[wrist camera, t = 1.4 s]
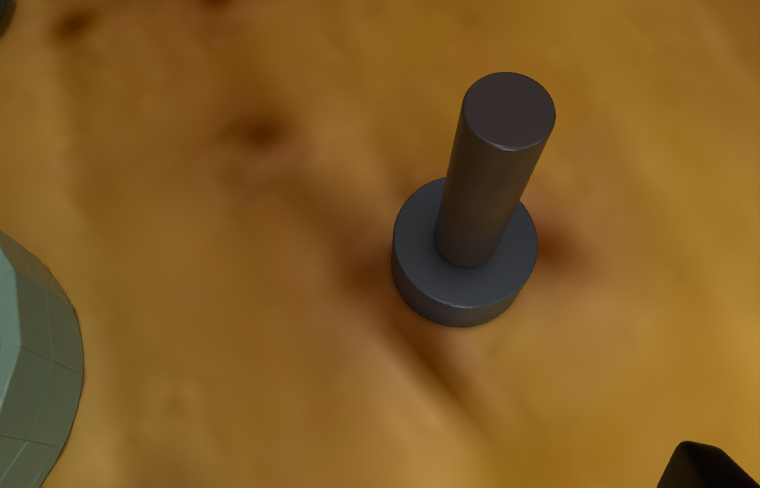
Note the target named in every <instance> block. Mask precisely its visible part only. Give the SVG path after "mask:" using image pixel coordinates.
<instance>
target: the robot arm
mask: <svg viewBox="0 0 760 488" xmlns="http://www.w3.org/2000/svg"><path fill="white" fill-rule="evenodd" d="M657 488H760V485H758V484H757V483H756V482H755V481H754V480H753V479H752V478H751V477H750V476H749V475H748V474H747V473H746V472H745V471H744V470H743V469H742V468H741V467H740V466H739V465H738V464H736V463H735V462H734V461H733V460H732V459H731V458H730V457H729V456H728V455H727V454H726V453H725V452H724V451H723V450H721V449H720V448H718V447H715V446H712V445H707V444H702V443H697V442H692V441H683V442H681V443H680V444H679V445H678V446H677V447H676V449H675V451H674V453H673V455H672V457H671V459H670V461H669V463H668V465H667V467H666V469H665V471H664V473H663V475H662V477H661V479H660V481H659V483H658V485H657Z"/></svg>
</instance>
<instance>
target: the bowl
mask: <svg viewBox="0 0 760 488" xmlns="http://www.w3.org/2000/svg"><path fill="white" fill-rule="evenodd" d="M82 374H83V352H82V341H81V336H80V331H79V326H78V322H77V319H76V316H75V314H74V311H73V308H72V306H71V303H70V302H69V300H68V298H67V296H66V294H65V293H64V291H63V289H62V287H61V286H60V285H59V284H58V282H57V281H56V280H55V278H54V277H53V276H52V275H51V273H50V272H49V271H47V270H46V269H45V268H44V266H43V265H42V263H41V262H40V260H39V259H38V258H37V257H36V256H34V255H33V254H32V253H30V252H29V251H28V250H26V249H25V248H24V247H22V246H21V245H20V244H18V243H17V242H16V241H14V240H13V239H12V238H10V237H9V236H8V235H6V234H5V233H4V232H2V231H1V230H0V488H39V486H40V485H41V484H42V482H43V481H44V479H45V478H46V476H47V474H48V473H49V471H50V470H51V468H52V466H53V465H54V463H55V461H56V460H57V458H58V456H59V454H60V452H61V450H62V447H63V445H64V443H65V441H66V439H67V437H68V435H69V432H70V429H71V426H72V423H73V420H74V417H75V414H76V411H77V406H78V402H79V397H80V392H81V386H82Z"/></svg>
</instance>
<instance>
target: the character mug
mask: <svg viewBox="0 0 760 488" xmlns="http://www.w3.org/2000/svg"><path fill="white" fill-rule="evenodd" d="M6 2H7V0H0V16H1V14H2V12H3V10H4V7H5V5H6Z"/></svg>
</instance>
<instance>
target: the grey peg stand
mask: <svg viewBox="0 0 760 488" xmlns="http://www.w3.org/2000/svg"><path fill="white" fill-rule="evenodd" d="M555 119H556V112H555V107H554V103H553V101H552V98H551V97H550V95H549V93H548V92H547V91H546V90H545V89H544V88H543V87H542V86H541V85H540V84H539V83H538V82H536V81H535V80H533V79H531V78H529V77H527V76H524V75H521V74H517V73H511V72H499V73H493V74H490V75H487V76H485V77H482V78H481V79H479V80H478V81H476V82H475V83H474V84H473V85H472V86H471V87H470V88H469V89H468V91H467V92H466V94H465V96H464V99H463V102H462V107H461V111H460V116H459V121H458V125H457V130H456V134H455V139H454V144H453V148H452V153H451V157H450V162H449V167H448V171H447V176H446V177H444V178H440V179H437V180H434V181H432V182H430V183H428V184H426V185H424V186H423V187H421V188H420V189H418V190H417V191H416V192H414V193H413V194H412V195H411V196H410V197H409V198H408V199H407V201H406V202H405V203H404V205H403V206H402V208H401V210H400V212H399V214H398V216H397V219H396V222H395V226H394V232H393V244H392V261H391V266H392V274H393V278H394V281H395V284H396V286H397V289H398V290H399V292H400V294H401V296H402V297H403V298H404V300H405V301H406V302H407V303H408V304H409V305H410V306H411V307H412V308H413V309H414V310H415V311H416V312H418V313H419V314H420V315H422V316H423V317H425V318H427V319H429V320H431V321H433V322H436V323H439V324H442V325H446V326H452V327H470V326H475V325H480V324H483V323H485V322H488V321H490V320H492V319H494V318H496V317H497V316H499V315H500V314H501V313H503V312H504V311H505V310H506V309H507V308H508V307H509V306H510V305H511V303H512V302H513V301H514V299H515V298H516V296H517V295H518V293H519V292H520V290H521V289H522V287H523V286H524V284H525V283H526V281H527V280H528V278H529V276H530V274H531V273H532V271H533V268H534V265H535V263H536V258H537V252H538V240H537V234H536V229H535V226H534V223H533V221H532V218H531V217H530V215H529V213H528V211H527V210H526V208H525V207H524V205H523V204H522V203H521V202H520V201H519V200H520V198H521V196H522V194H523V191H524V189H525V187H526V185H527V183H528V181H529V179H530V176H531V174H532V172H533V170H534V168H535V166H536V164H537V162H538V159H539V157H540V155H541V153H542V151H543V149H544V147H545V145H546V142H547V140H548V138H549V136H550V134H551V132H552V130H553V127H554V124H555Z"/></svg>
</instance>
